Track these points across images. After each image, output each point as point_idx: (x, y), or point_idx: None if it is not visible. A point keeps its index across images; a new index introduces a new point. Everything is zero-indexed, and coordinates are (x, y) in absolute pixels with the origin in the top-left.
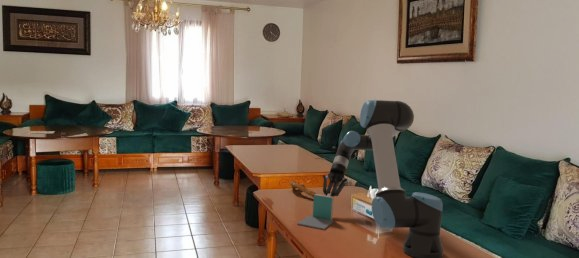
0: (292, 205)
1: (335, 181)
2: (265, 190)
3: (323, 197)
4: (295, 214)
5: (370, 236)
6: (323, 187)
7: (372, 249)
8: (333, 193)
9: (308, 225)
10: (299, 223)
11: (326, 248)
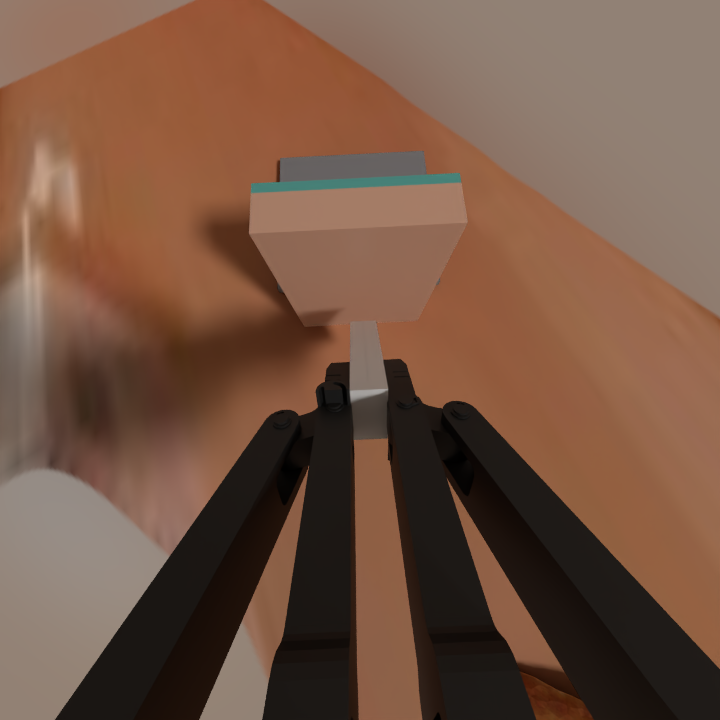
0: (657, 443)
1: (319, 663)
2: None
3: (348, 188)
4: (519, 283)
5: (63, 205)
6: (509, 451)
7: (45, 89)
8: (318, 413)
9: (363, 154)
10: (412, 153)
11: (209, 21)
